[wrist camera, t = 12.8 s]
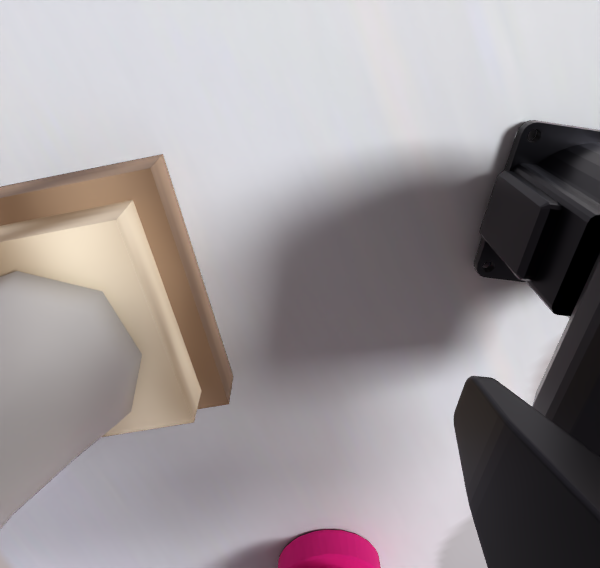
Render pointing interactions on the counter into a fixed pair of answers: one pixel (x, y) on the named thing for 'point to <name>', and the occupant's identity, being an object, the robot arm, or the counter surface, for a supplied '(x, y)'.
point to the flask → (56, 379)
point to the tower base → (164, 242)
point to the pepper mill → (329, 551)
